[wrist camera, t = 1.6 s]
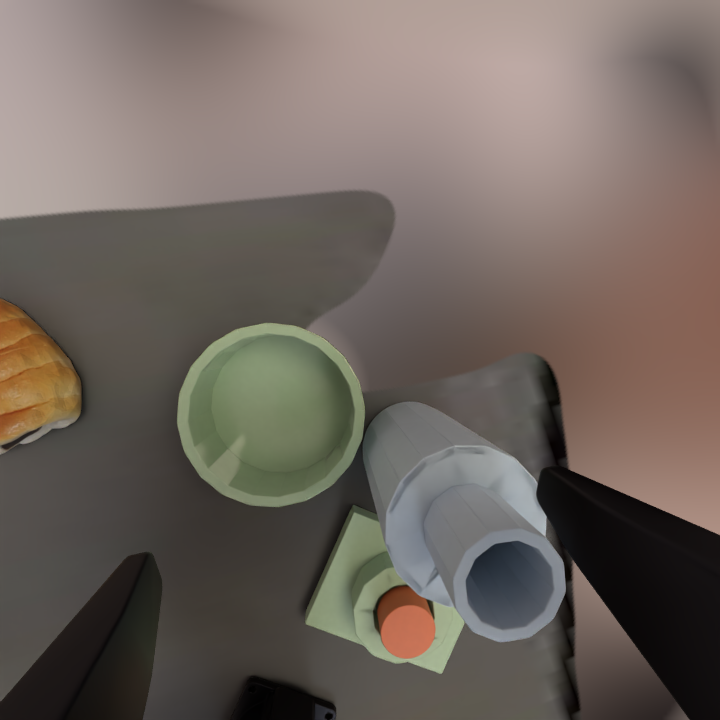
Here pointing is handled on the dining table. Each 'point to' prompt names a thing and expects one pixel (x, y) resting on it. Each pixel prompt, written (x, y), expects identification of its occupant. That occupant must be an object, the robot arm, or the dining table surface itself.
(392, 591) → the button
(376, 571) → the panel
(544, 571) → the bottle
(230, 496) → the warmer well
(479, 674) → the dining table surface
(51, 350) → the pastry
